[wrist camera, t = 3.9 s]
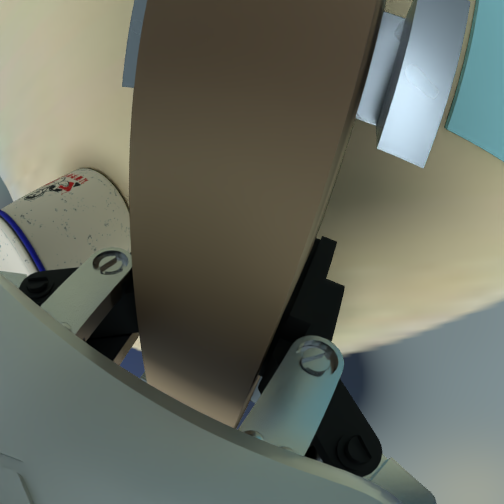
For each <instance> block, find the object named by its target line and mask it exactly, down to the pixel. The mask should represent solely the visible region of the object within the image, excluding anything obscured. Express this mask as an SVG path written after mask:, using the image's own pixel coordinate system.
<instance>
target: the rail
mask: <svg viewBox="0 0 504 504" xmlns="http://www.w3.org/2000/svg"><path fill="white" fill-rule="evenodd" d="M385 4H386V0H147V4H146V9H145V14H144V19H143V25H142V31H141V37H140V43H139V50H138V58H137V65H136V74H135V83H134V93H133V104H132V118H131V134H130V161H129V213H130V240H131V257H132V271H133V283H134V294H135V304H136V312H137V321H138V329H139V336H140V343H141V350H142V356H143V361H144V368H145V374H146V379H147V383H148V384H150V385H151V386H153V387H155V388H156V389H158V390H160V391H162V392H163V393H165V394H167V395H169V396H171V397H172V398H174V399H176V400H178V401H180V402H182V403H183V404H185V405H187V406H189V407H191V408H193V409H195V410H197V411H199V412H201V413H203V414H205V415H207V416H209V417H211V418H213V419H215V420H217V421H219V422H222V423H224V424H226V425H228V426H230V427H232V428H235V429H236V428H237V426H238V424H239V422H240V420H241V418H242V416H243V414H244V412H245V410H246V408H247V406H248V403H249V401H250V399H251V397H252V395H253V392H254V390H255V388H256V386H257V383H258V381H259V379H260V377H261V376H259V375H258V374H259V372H260V369H261V367H262V365H263V362H264V360H265V357H266V355H267V352H268V350H269V348H270V345H271V343H272V340H273V338H274V335H275V333H276V330H277V328H278V325H279V323H280V320H281V318H282V315H283V313H284V310H285V308H286V306H287V304H288V301H289V299H290V297H291V295H292V293H293V290H294V288H295V286H296V284H297V282H298V279H299V277H300V275H301V272H302V270H303V268H304V266H305V263H306V261H307V259H308V256H309V254H310V252H311V249H312V247H313V244H314V242H315V239H316V236H317V233H318V231H319V228H320V225H321V222H322V219H323V216H324V214H325V211H326V208H327V205H328V202H329V199H330V196H331V193H332V190H333V187H334V184H335V181H336V178H337V175H338V172H339V169H340V166H341V163H342V160H343V157H344V154H345V151H346V147H347V144H348V141H349V138H350V134H351V131H352V128H353V125H354V121H355V118H356V115H357V111H358V108H359V104H360V101H361V97H362V94H363V90H364V87H365V83H366V80H367V76H368V72H369V69H370V65H371V61H372V57H373V53H374V50H375V46H376V42H377V38H378V34H379V29H380V25H381V21H382V17H383V12H384V8H385Z"/></svg>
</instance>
